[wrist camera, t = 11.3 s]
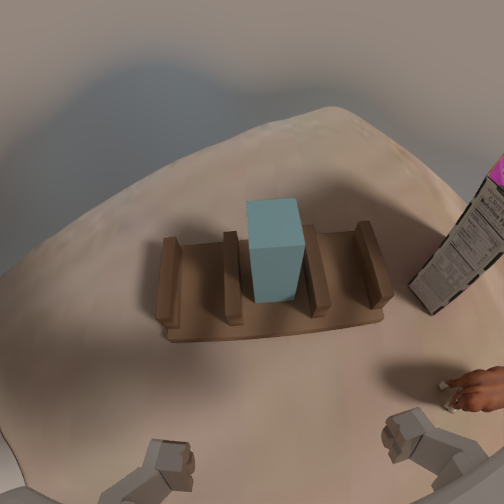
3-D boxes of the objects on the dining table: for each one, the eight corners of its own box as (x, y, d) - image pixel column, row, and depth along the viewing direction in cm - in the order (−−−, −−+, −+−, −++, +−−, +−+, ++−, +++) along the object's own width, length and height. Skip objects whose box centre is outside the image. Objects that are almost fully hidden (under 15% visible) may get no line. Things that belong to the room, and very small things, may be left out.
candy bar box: (448, 237, 29) (510, 140, 15) (472, 264, 26) (545, 175, 12) (403, 285, 26) (486, 170, 12) (431, 319, 23) (535, 224, 10)
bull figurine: (503, 416, 16) (552, 404, 9) (422, 413, 18) (475, 407, 12) (508, 381, 18) (555, 362, 11) (430, 371, 21) (482, 350, 14)
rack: (171, 342, 24) (155, 329, 21) (176, 252, 29) (165, 229, 26) (379, 321, 24) (397, 306, 20) (356, 237, 29) (366, 213, 26)
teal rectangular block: (255, 303, 25) (249, 249, 17) (252, 264, 27) (246, 201, 19) (293, 300, 25) (305, 244, 17) (288, 262, 27) (295, 198, 19)
